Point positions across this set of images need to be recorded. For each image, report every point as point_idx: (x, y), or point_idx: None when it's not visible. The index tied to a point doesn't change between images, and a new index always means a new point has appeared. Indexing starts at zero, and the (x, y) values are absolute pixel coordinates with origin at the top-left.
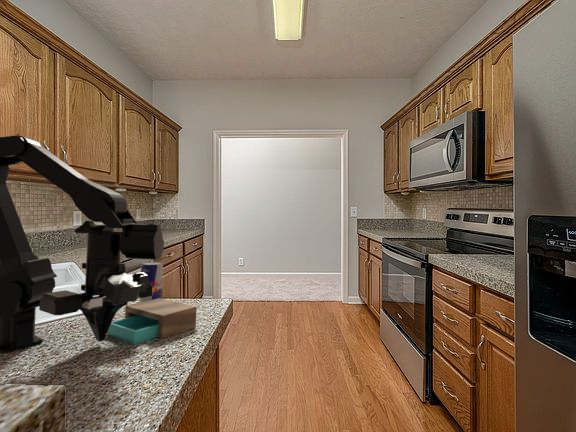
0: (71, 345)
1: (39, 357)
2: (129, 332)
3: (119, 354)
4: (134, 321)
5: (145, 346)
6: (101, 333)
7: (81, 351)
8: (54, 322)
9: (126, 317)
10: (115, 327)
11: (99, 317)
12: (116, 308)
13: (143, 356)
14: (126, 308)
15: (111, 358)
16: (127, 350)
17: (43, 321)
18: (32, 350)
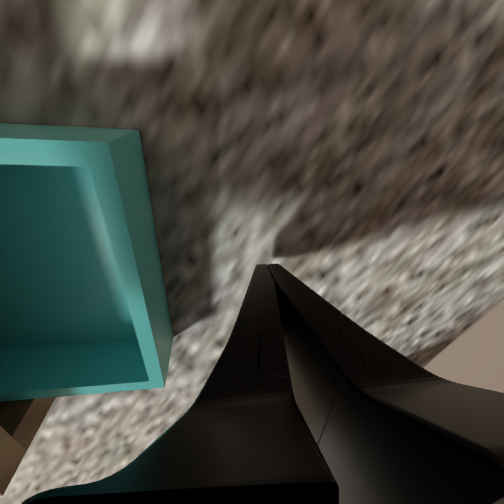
0: None
1: (423, 303)
2: (131, 209)
3: (295, 55)
4: (13, 367)
5: (93, 11)
6: (288, 282)
7: (341, 257)
8: None
9: (41, 408)
10: (156, 333)
11: (379, 367)
12: (247, 439)
13: None
14: (8, 470)
15: (360, 40)
16: (225, 72)
17: None
18: None
